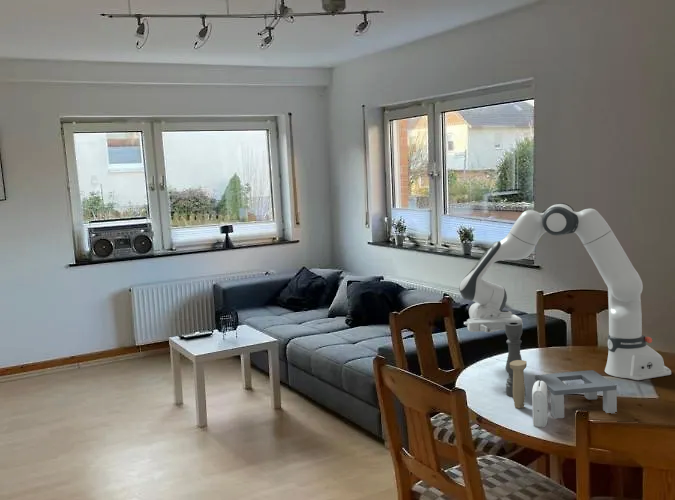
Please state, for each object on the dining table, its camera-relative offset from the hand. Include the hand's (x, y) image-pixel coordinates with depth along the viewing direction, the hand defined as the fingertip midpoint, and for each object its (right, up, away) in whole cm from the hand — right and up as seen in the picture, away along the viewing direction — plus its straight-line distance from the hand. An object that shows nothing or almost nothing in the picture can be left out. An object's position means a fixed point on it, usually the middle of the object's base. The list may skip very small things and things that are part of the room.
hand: (500, 329), depth 242 cm
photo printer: (+4, -25, -35) cm, 43 cm away
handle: (+1, -23, -23) cm, 32 cm away
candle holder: (+3, -21, -10) cm, 24 cm away
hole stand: (+18, -22, -25) cm, 38 cm away
